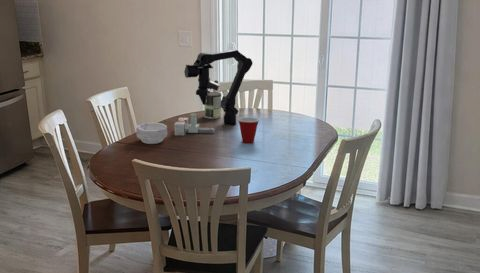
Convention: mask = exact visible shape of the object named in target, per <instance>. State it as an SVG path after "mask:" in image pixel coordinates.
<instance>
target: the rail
mask: <svg viewBox="0 0 480 273" xmlns="http://www.w3.org/2000/svg"><path fill="white" fill-rule="evenodd" d="M187 133H188V128H187V132H186V134H187ZM188 134H189V133H188ZM197 134H215V128H212V127H211V128H210V127H209V128H208V127H199V128H198V133H197Z"/></svg>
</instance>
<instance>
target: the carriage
mask: <svg viewBox="0 0 480 273" xmlns="http://www.w3.org/2000/svg"><path fill="white" fill-rule="evenodd" d="M198 128H200V123H198V122H197V113H191V114H190V123H189V126H188V134H190V133H191V134H199V133H198Z"/></svg>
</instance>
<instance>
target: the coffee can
mask: <svg viewBox="0 0 480 273" xmlns="http://www.w3.org/2000/svg"><path fill="white" fill-rule="evenodd" d="M221 100H222V93H221V92H218V91H210V93H209V94H208V95H207V98H206V103H205V105H204V115H203V116H204V118H206V119H213V120H214V119H219V118H221V117H222V108H221Z"/></svg>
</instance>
